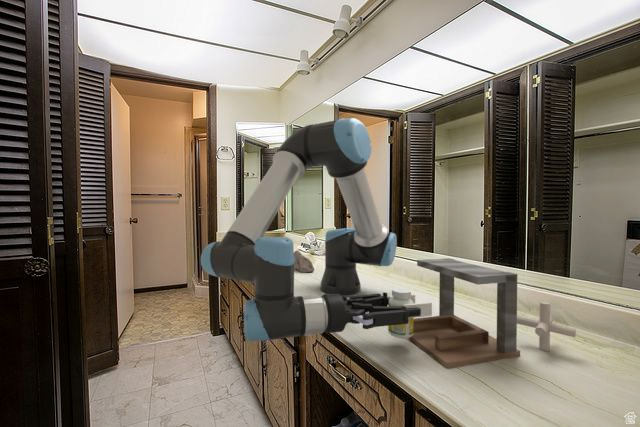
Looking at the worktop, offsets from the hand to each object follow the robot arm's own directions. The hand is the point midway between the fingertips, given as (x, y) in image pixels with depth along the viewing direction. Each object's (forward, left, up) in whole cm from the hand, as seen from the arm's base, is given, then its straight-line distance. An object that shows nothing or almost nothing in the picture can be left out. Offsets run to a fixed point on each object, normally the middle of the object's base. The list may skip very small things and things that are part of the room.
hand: (421, 304), depth 65 cm
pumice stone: (-84, -9, -9) cm, 85 cm away
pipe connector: (+9, +25, -9) cm, 28 cm away
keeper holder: (0, +8, -9) cm, 12 cm away
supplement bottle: (0, -5, -6) cm, 8 cm away
